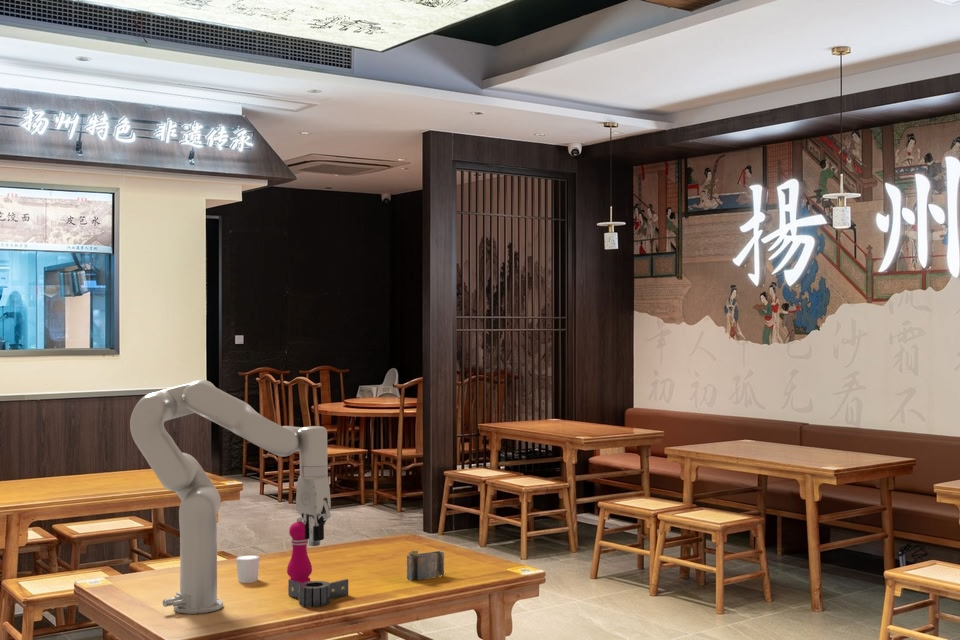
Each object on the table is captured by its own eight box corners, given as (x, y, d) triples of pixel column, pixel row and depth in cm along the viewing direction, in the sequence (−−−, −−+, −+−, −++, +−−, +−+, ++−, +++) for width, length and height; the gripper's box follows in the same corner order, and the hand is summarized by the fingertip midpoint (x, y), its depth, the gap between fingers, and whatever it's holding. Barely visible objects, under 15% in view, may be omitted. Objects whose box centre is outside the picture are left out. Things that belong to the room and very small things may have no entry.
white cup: (242, 584, 284) (242, 560, 284) (232, 580, 289) (232, 556, 290) (263, 580, 289) (263, 557, 289) (253, 576, 294) (253, 553, 294)
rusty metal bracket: (412, 583, 287) (411, 550, 287) (407, 581, 289) (406, 548, 290) (444, 578, 293) (444, 545, 293) (439, 576, 296) (439, 544, 296)
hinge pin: (313, 546, 262) (313, 509, 262) (306, 545, 264) (306, 508, 264) (322, 544, 264) (322, 508, 264) (315, 543, 266) (315, 506, 266)
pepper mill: (306, 588, 279) (306, 519, 279) (283, 587, 280) (283, 518, 281) (315, 582, 286) (315, 514, 286) (292, 581, 287) (292, 514, 288)
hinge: (311, 608, 258) (311, 590, 258) (277, 598, 268) (277, 580, 269) (357, 597, 269) (357, 579, 269) (322, 587, 280) (322, 570, 280)
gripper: (284, 470, 267) (285, 537, 267) (321, 475, 256) (322, 545, 256) (306, 468, 273) (307, 533, 272) (343, 472, 262) (344, 541, 261)
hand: (314, 538), depth 264 cm, fingers closed on hinge pin, 3 cm apart
